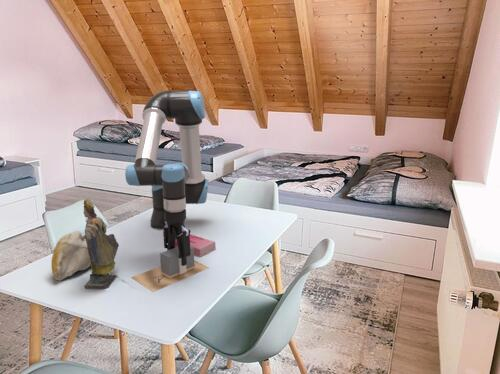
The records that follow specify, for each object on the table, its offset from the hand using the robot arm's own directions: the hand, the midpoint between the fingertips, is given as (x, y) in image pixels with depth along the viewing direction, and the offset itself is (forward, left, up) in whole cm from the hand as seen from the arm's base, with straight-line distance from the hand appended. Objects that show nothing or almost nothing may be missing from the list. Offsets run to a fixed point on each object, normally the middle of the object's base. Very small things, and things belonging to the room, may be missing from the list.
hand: (178, 270), depth 142 cm
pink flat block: (-16, -14, -2) cm, 22 cm away
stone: (+22, -30, -2) cm, 37 cm away
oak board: (+2, -1, -1) cm, 3 cm away
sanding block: (0, 0, 0) cm, 0 cm away
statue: (+21, -16, -2) cm, 27 cm away
